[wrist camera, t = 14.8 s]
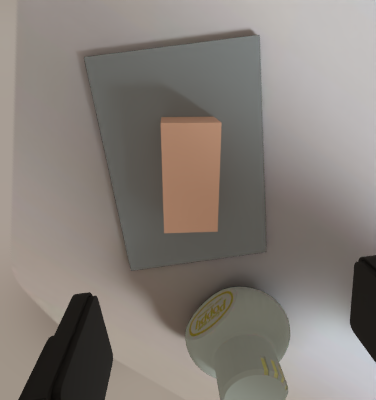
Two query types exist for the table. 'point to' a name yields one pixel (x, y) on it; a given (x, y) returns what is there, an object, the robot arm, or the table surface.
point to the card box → (190, 173)
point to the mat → (151, 143)
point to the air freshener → (241, 343)
